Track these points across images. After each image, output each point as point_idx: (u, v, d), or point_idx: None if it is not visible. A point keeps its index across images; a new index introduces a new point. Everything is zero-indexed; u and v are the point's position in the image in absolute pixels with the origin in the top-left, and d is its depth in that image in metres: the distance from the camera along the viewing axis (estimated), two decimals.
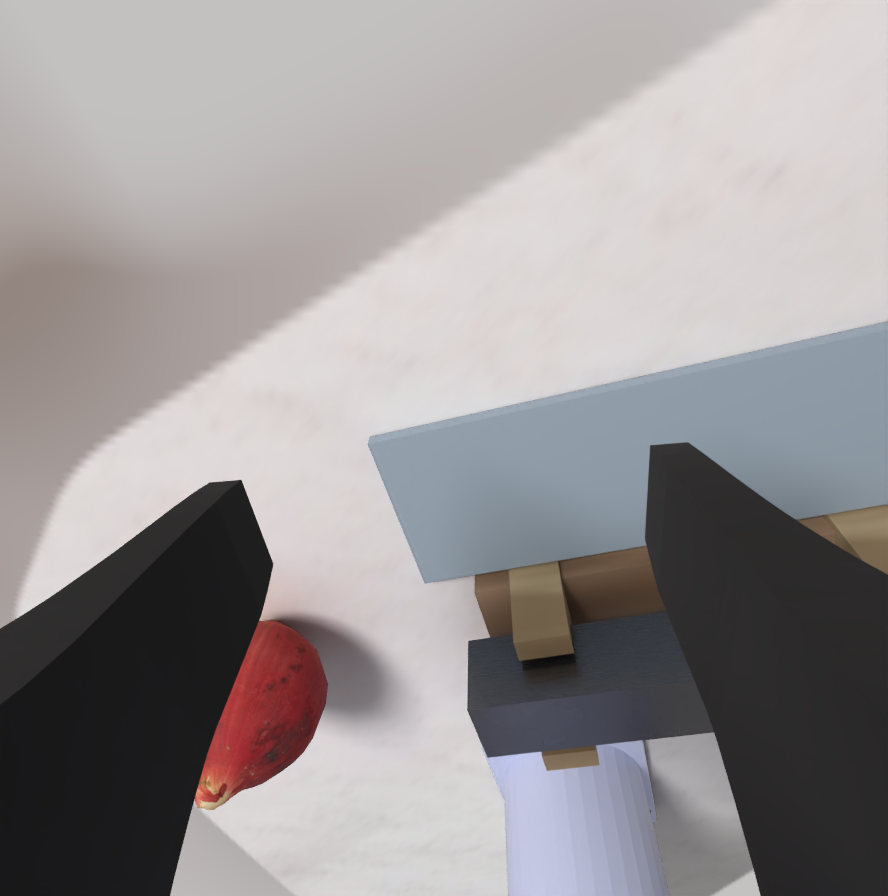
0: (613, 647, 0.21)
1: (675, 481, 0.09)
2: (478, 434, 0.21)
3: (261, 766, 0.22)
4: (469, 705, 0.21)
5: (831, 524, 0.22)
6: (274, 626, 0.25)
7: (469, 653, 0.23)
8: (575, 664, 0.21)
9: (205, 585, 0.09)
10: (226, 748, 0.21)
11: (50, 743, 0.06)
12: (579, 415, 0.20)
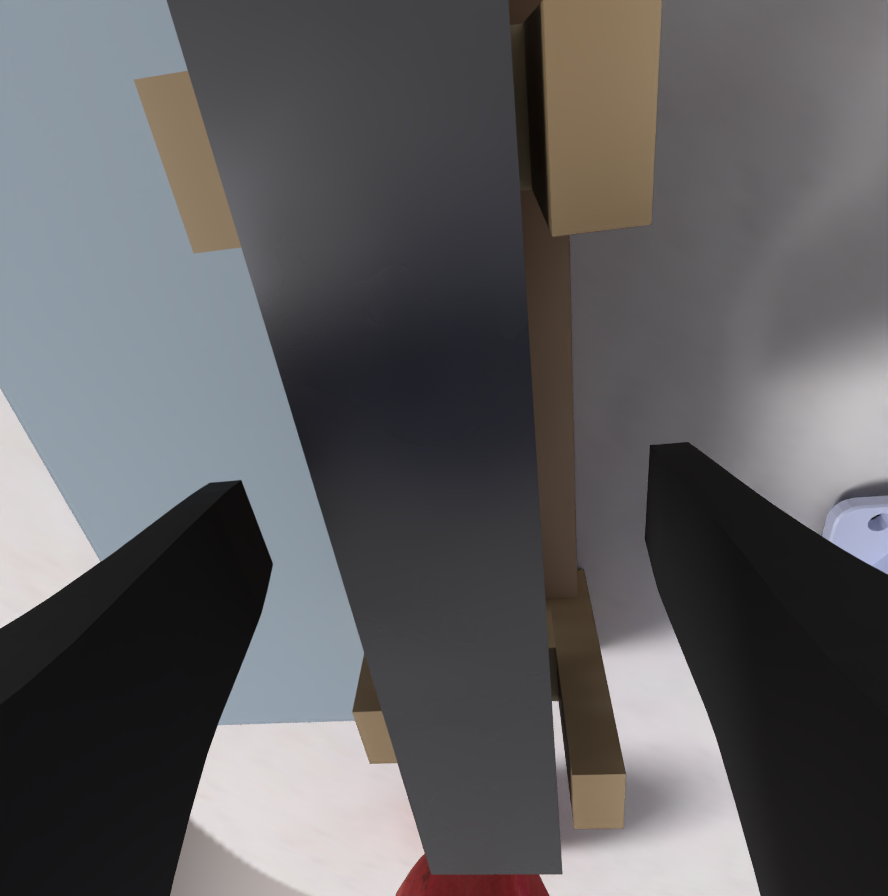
0: None
1: (675, 481, 0.09)
2: None
3: None
4: None
5: None
6: (417, 862, 0.21)
7: None
8: None
9: (205, 585, 0.09)
10: None
11: (50, 743, 0.06)
12: None
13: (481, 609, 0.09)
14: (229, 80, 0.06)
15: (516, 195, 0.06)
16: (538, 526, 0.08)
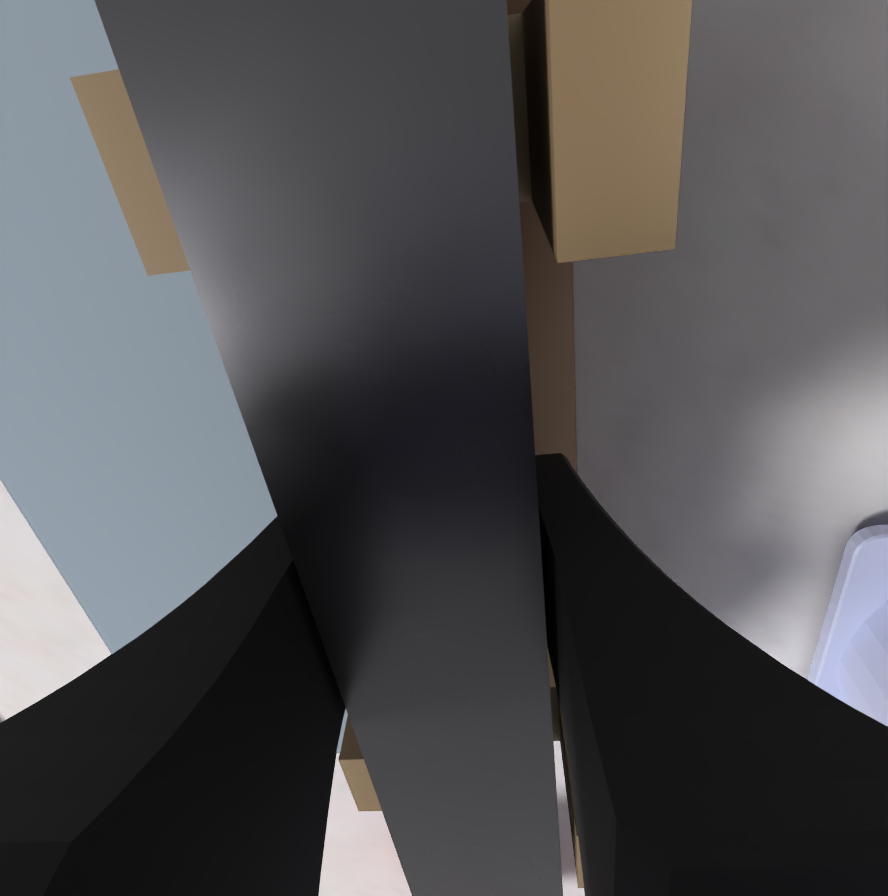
0: None
1: None
2: None
3: None
4: None
5: None
6: None
7: None
8: None
9: None
10: None
11: (236, 736, 0.06)
12: (96, 588, 0.15)
13: (477, 669, 0.08)
14: (168, 78, 0.05)
15: (515, 215, 0.05)
16: (540, 582, 0.07)
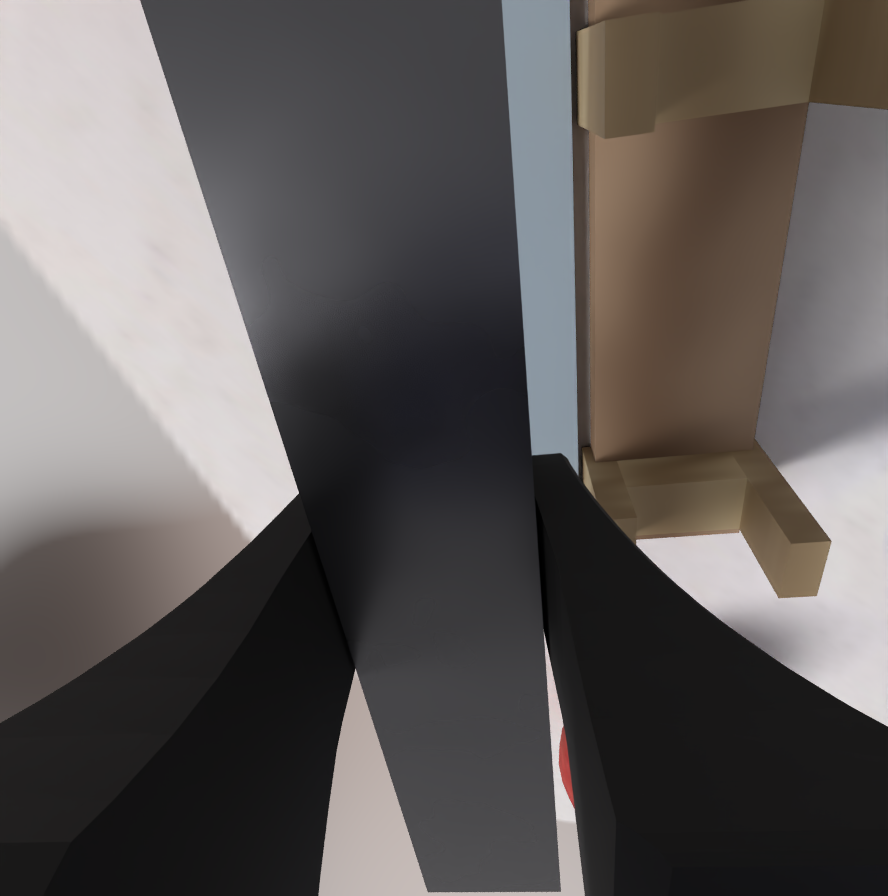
0: None
1: None
2: None
3: None
4: None
5: None
6: None
7: None
8: None
9: None
10: None
11: (237, 736, 0.06)
12: None
13: (477, 631, 0.09)
14: (211, 94, 0.05)
15: (511, 213, 0.06)
16: (535, 548, 0.08)
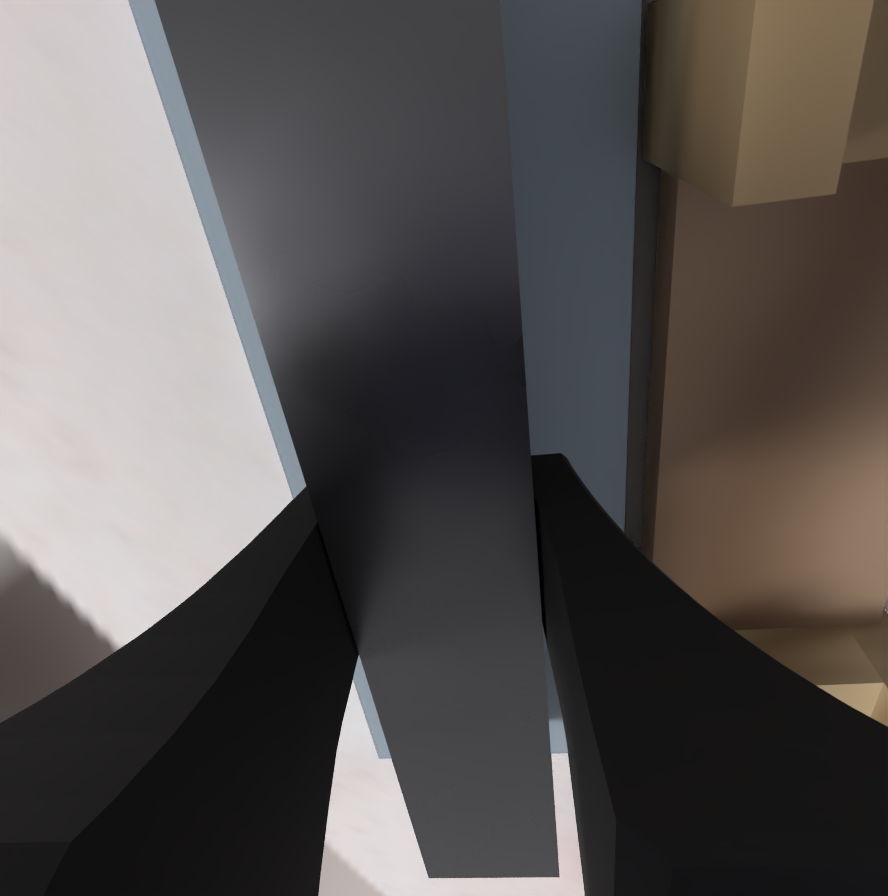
0: None
1: None
2: None
3: None
4: None
5: None
6: None
7: None
8: None
9: (332, 577, 0.09)
10: None
11: (236, 736, 0.06)
12: None
13: (477, 616, 0.09)
14: (222, 94, 0.06)
15: (509, 208, 0.06)
16: (533, 534, 0.08)
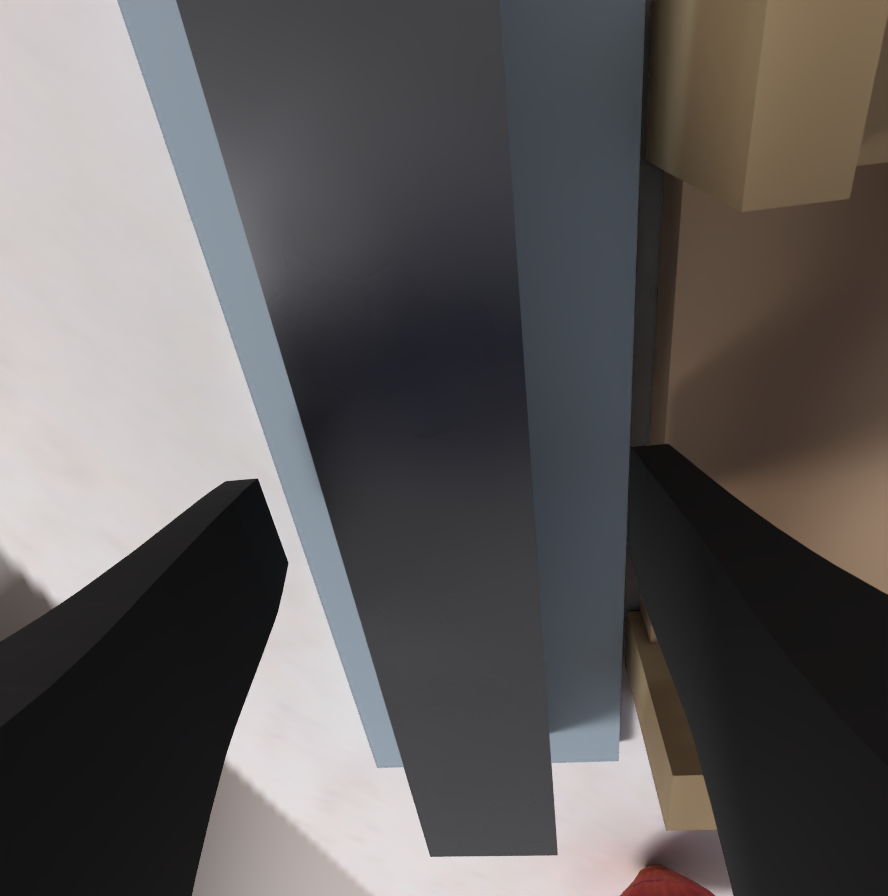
0: None
1: (653, 483, 0.09)
2: (370, 683, 0.16)
3: None
4: None
5: None
6: None
7: None
8: None
9: (223, 583, 0.09)
10: None
11: (77, 742, 0.06)
12: (345, 587, 0.14)
13: (478, 594, 0.10)
14: (239, 90, 0.06)
15: (509, 198, 0.06)
16: (532, 513, 0.09)
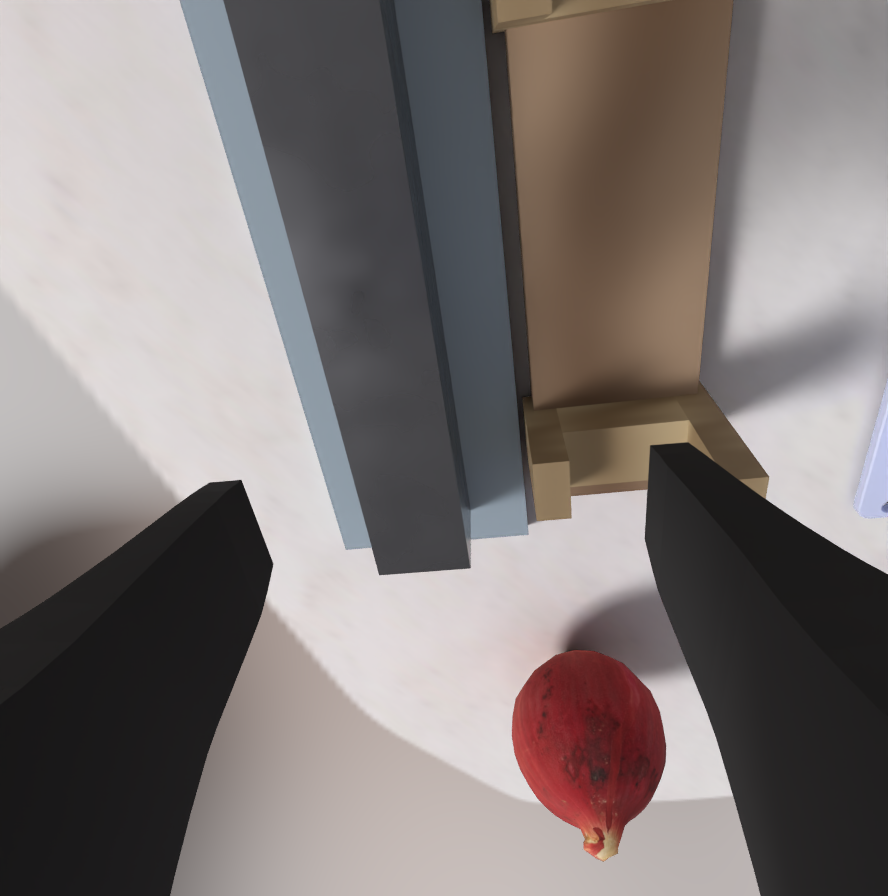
0: None
1: (675, 481, 0.09)
2: (336, 464, 0.21)
3: (602, 790, 0.20)
4: None
5: (501, 30, 0.14)
6: None
7: None
8: None
9: (205, 586, 0.09)
10: (564, 802, 0.21)
11: (50, 743, 0.06)
12: (314, 374, 0.19)
13: (390, 316, 0.15)
14: None
15: (380, 24, 0.12)
16: (417, 248, 0.14)
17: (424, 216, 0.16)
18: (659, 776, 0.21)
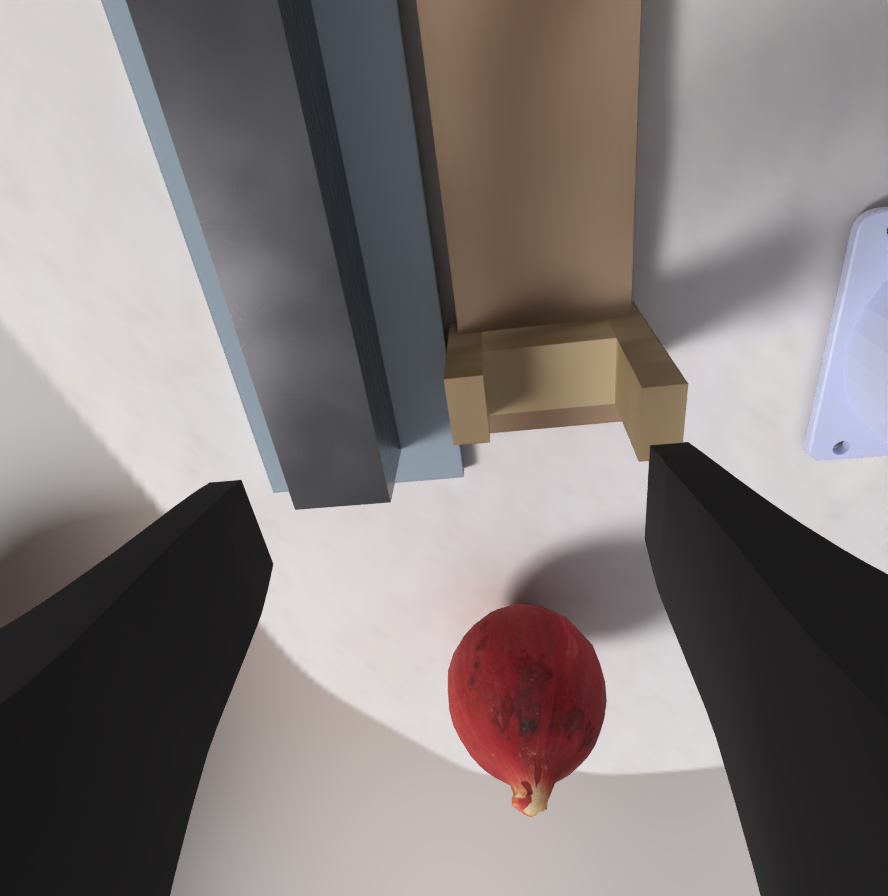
0: None
1: (675, 481, 0.09)
2: (257, 396, 0.20)
3: (532, 741, 0.19)
4: None
5: None
6: None
7: None
8: None
9: (205, 585, 0.09)
10: (493, 756, 0.20)
11: (50, 742, 0.06)
12: None
13: (282, 207, 0.14)
14: None
15: None
16: (304, 126, 0.13)
17: (326, 107, 0.15)
18: (596, 731, 0.20)
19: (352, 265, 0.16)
